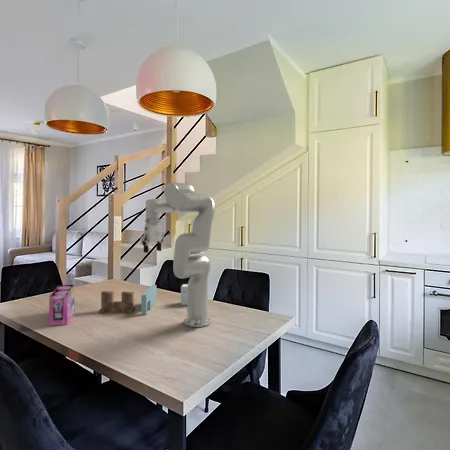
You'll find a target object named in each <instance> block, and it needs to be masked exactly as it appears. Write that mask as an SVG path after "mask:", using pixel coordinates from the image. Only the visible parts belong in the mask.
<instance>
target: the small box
mask: <svg viewBox="0 0 450 450" xmlns="http://www.w3.org/2000/svg"><path fill="white" fill-rule="evenodd" d="M187 287H188V283H185V284H184V283H183V284H182V285H181V286H180V305H181V306H187Z"/></svg>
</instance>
